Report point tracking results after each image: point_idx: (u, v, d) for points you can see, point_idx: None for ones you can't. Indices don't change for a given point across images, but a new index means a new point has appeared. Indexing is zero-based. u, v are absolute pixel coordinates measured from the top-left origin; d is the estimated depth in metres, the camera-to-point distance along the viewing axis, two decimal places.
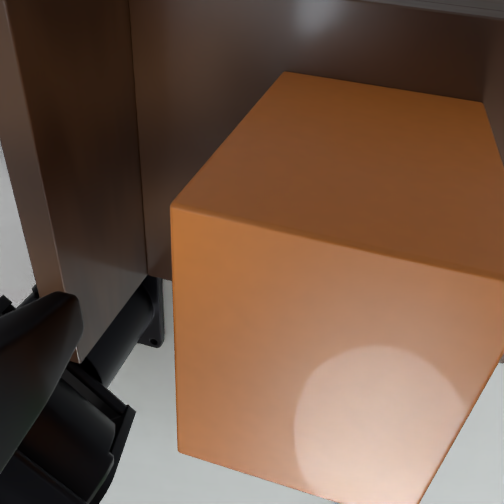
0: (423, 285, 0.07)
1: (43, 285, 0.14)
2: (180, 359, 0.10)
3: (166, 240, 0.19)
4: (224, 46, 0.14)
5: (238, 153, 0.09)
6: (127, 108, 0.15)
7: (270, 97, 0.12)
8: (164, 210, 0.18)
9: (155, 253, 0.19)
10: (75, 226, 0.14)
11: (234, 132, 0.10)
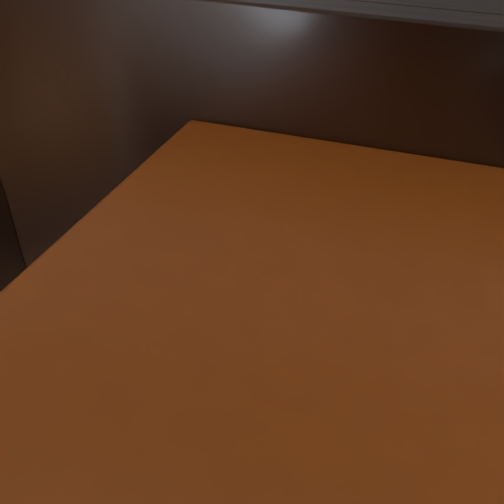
0: None
1: None
2: None
3: None
4: (102, 84, 0.09)
5: None
6: None
7: (141, 177, 0.07)
8: None
9: None
10: None
11: (19, 279, 0.05)
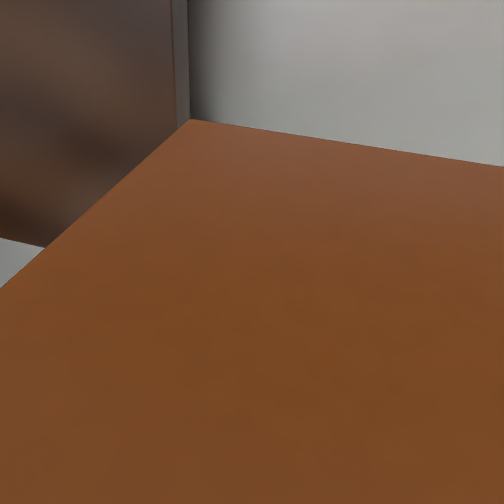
0: None
1: None
2: None
3: None
4: None
5: None
6: None
7: (140, 176, 0.07)
8: None
9: None
10: None
11: (17, 278, 0.05)
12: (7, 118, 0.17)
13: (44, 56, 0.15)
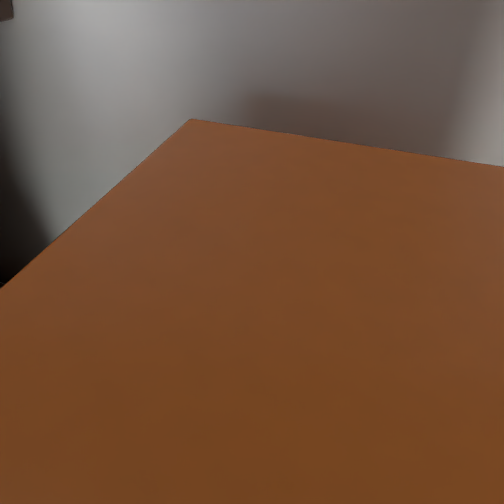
0: None
1: None
2: None
3: None
4: None
5: None
6: None
7: (140, 176, 0.07)
8: None
9: None
10: None
11: (18, 277, 0.05)
12: None
13: None
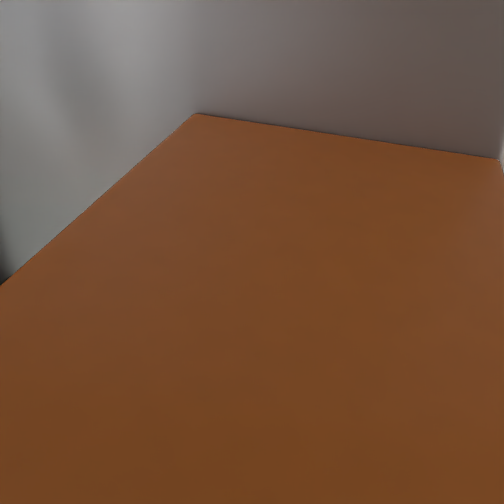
0: None
1: None
2: None
3: None
4: None
5: (9, 321, 0.04)
6: None
7: (148, 166, 0.07)
8: None
9: None
10: None
11: (37, 258, 0.05)
12: None
13: None
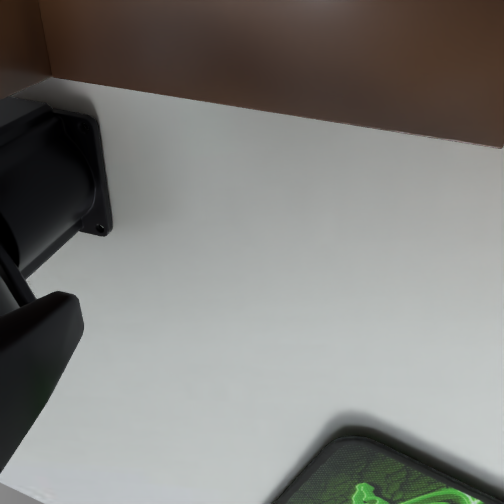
0: None
1: None
2: None
3: (65, 13, 0.15)
4: None
5: None
6: None
7: None
8: None
9: (55, 38, 0.15)
10: None
11: None
12: None
13: None
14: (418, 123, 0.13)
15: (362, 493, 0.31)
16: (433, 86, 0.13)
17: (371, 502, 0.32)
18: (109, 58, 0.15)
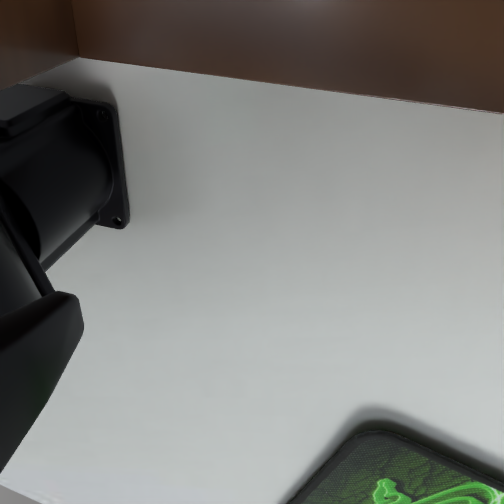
0: None
1: None
2: None
3: None
4: None
5: None
6: None
7: None
8: None
9: (84, 15, 0.15)
10: None
11: None
12: None
13: None
14: (467, 96, 0.13)
15: (383, 489, 0.31)
16: (485, 56, 0.12)
17: (392, 498, 0.31)
18: (141, 35, 0.14)
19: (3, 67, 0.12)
